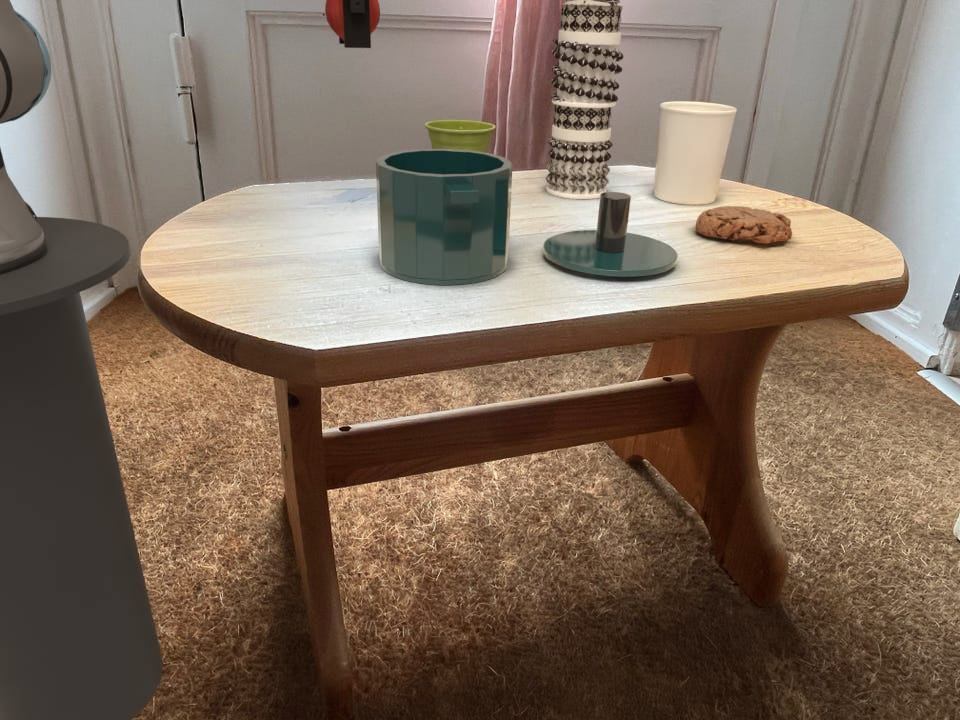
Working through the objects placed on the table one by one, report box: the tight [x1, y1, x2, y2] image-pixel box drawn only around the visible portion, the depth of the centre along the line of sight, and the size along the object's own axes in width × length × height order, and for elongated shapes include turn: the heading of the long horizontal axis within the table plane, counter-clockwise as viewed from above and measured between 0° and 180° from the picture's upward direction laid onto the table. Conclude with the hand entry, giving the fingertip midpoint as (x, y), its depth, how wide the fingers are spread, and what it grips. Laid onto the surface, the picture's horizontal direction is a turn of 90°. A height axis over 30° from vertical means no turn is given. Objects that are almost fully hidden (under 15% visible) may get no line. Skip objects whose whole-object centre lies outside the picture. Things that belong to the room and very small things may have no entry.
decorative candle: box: [545, 0, 624, 200], centre depth 97 cm, size 9×9×25 cm
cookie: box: [695, 205, 793, 244], centre depth 85 cm, size 10×11×3 cm
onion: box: [324, 0, 381, 40], centre depth 79 cm, size 6×6×8 cm
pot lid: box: [542, 191, 678, 278], centre depth 74 cm, size 14×14×7 cm
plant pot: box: [424, 119, 496, 153], centre depth 100 cm, size 9×9×9 cm
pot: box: [375, 148, 514, 286], centre depth 71 cm, size 13×18×10 cm
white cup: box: [653, 100, 738, 206], centre depth 99 cm, size 10×10×12 cm
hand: (354, 45), depth 81 cm, fingers closed on onion, 6 cm apart
